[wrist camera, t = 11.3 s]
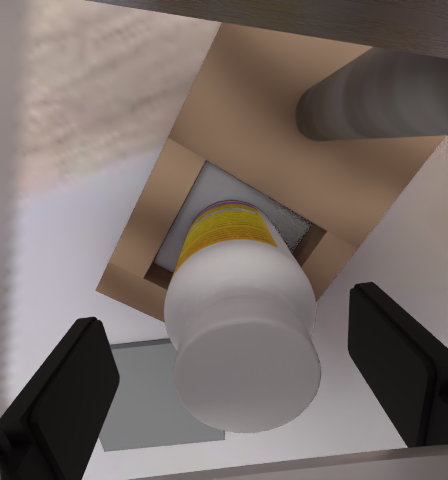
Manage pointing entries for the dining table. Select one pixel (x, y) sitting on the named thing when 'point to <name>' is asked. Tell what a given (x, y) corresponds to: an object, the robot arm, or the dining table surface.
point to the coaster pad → (149, 402)
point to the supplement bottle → (241, 323)
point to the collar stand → (290, 146)
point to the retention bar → (326, 19)
